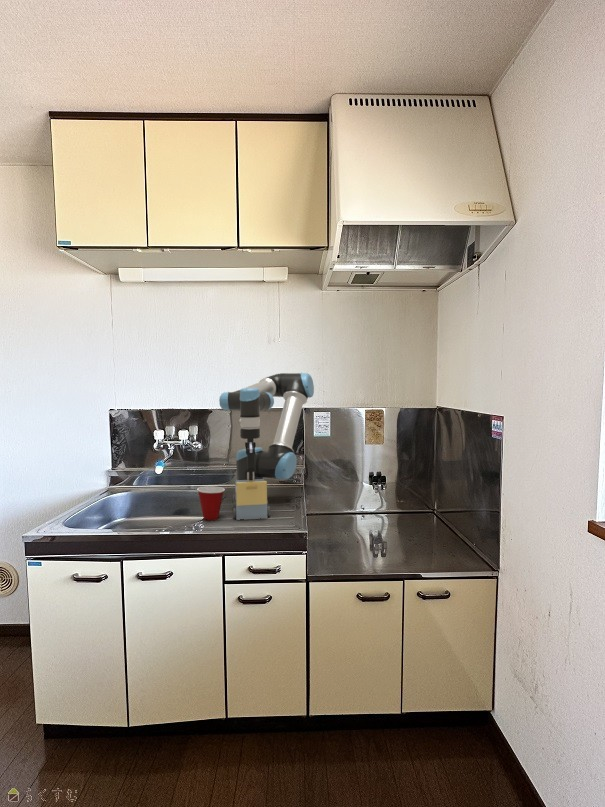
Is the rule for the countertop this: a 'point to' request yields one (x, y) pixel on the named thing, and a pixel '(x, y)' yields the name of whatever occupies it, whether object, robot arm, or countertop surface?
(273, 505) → the countertop surface
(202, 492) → the plastic cup
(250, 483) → the panel
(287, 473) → the robot arm
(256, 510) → the box
